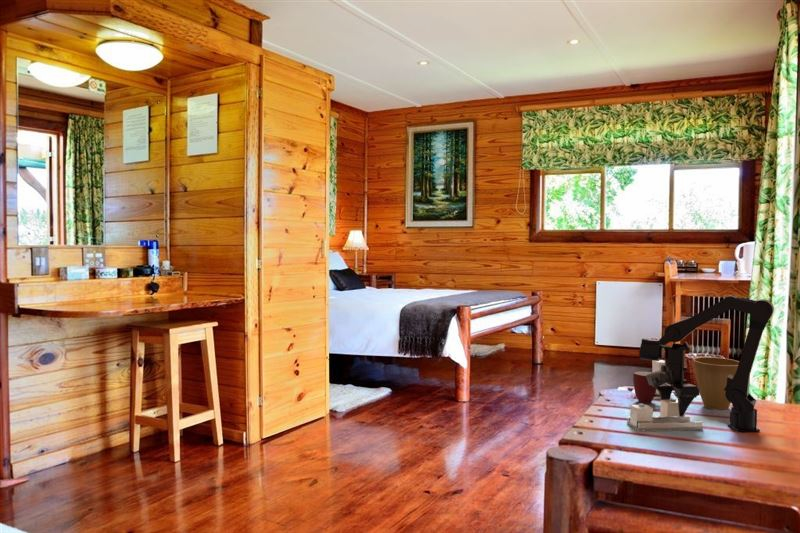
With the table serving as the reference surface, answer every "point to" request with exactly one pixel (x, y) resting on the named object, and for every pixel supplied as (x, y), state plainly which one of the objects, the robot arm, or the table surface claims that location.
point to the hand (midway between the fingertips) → (672, 411)
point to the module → (669, 408)
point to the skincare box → (657, 367)
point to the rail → (659, 420)
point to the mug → (643, 387)
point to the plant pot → (714, 380)
